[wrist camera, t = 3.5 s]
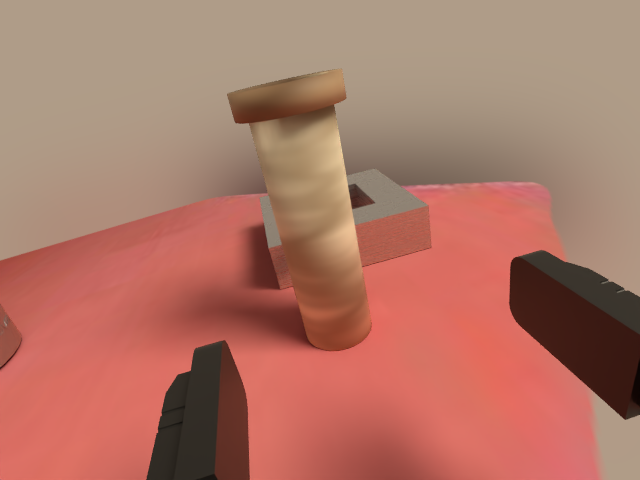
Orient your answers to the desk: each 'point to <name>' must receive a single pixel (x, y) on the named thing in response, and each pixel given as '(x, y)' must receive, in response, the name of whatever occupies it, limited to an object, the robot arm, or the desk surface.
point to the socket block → (367, 222)
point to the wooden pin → (310, 200)
